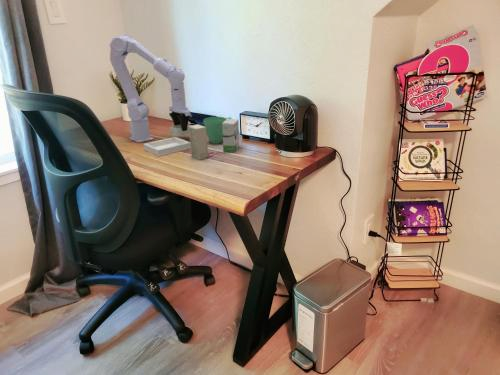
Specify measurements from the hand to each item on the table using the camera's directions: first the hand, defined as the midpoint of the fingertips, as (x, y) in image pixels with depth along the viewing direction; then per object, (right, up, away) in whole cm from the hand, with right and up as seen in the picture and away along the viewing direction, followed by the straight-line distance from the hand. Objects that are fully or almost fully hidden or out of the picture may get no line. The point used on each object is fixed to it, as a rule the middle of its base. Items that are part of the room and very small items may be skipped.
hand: (181, 129), depth 174 cm
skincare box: (+11, -14, -21) cm, 28 cm away
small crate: (0, -2, +1) cm, 2 cm away
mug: (+18, -5, -1) cm, 19 cm away
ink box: (+23, -10, -13) cm, 28 cm away
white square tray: (-4, -10, -11) cm, 15 cm away
